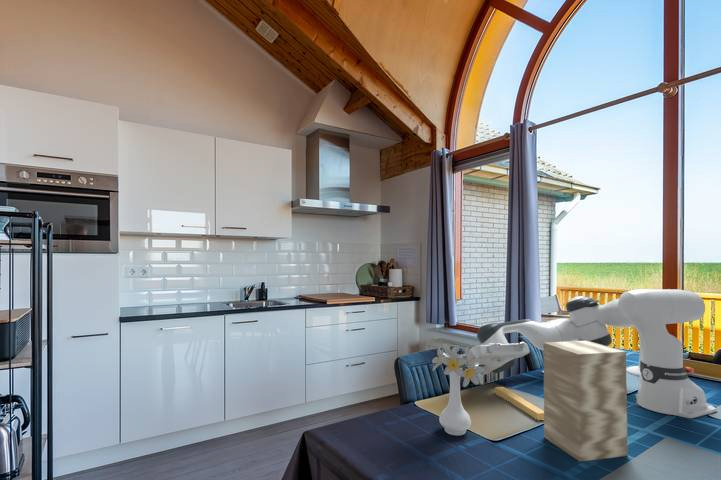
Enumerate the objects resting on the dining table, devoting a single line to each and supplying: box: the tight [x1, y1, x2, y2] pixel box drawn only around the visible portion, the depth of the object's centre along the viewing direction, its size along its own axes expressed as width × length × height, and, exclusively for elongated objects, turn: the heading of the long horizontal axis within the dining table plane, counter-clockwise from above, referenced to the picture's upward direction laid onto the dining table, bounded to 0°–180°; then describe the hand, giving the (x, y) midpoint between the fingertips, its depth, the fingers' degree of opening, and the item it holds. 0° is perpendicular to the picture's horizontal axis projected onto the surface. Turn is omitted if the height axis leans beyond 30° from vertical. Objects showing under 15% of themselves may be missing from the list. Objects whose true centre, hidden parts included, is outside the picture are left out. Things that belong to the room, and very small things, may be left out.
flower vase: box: [431, 343, 484, 436], centre depth 113 cm, size 12×18×24 cm
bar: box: [494, 386, 544, 421], centre depth 133 cm, size 3×24×2 cm, turn 12°
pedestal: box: [543, 340, 629, 463], centre depth 105 cm, size 14×13×26 cm
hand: (511, 344), depth 137 cm, fingers open, 8 cm apart
